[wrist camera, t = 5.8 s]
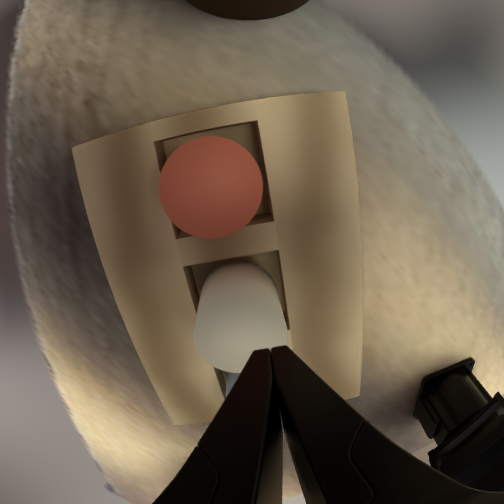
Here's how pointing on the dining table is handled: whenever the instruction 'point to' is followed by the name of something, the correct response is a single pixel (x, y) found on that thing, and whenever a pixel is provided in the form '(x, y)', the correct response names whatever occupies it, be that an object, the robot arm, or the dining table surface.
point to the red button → (210, 187)
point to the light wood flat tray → (234, 240)
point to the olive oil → (248, 7)
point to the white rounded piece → (238, 315)
